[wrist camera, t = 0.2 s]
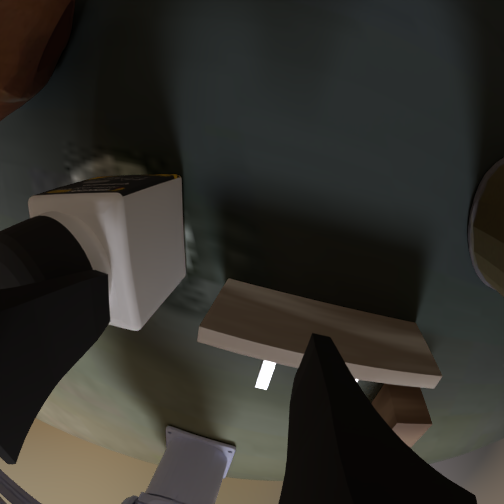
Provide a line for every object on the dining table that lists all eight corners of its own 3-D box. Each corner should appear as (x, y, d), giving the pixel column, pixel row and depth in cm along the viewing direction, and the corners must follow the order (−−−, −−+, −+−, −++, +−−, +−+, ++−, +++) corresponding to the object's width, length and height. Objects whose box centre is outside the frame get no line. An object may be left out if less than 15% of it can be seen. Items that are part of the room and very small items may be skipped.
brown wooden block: (361, 453, 25) (363, 489, 20) (333, 451, 25) (333, 488, 20) (418, 382, 20) (432, 424, 16) (386, 378, 21) (397, 423, 16)
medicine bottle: (183, 173, 18) (32, 228, 7) (188, 276, 20) (89, 400, 9) (97, 176, 19) (-43, 223, 8) (107, 265, 21) (-1, 351, 10)
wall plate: (409, 333, 19) (434, 388, 13) (225, 290, 20) (197, 341, 14) (415, 322, 18) (442, 376, 13) (228, 278, 20) (198, 326, 14)
